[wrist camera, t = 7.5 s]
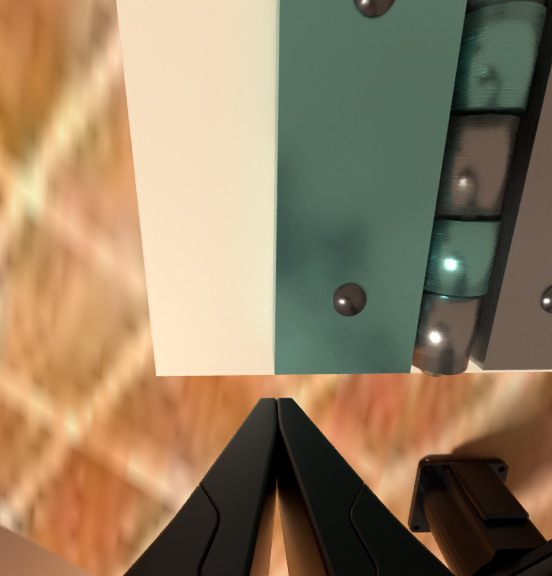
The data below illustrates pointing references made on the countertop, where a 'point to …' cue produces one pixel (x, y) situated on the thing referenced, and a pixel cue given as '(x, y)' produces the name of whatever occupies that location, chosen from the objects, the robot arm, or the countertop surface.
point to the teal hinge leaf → (380, 168)
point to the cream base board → (207, 179)
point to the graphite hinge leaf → (512, 238)
